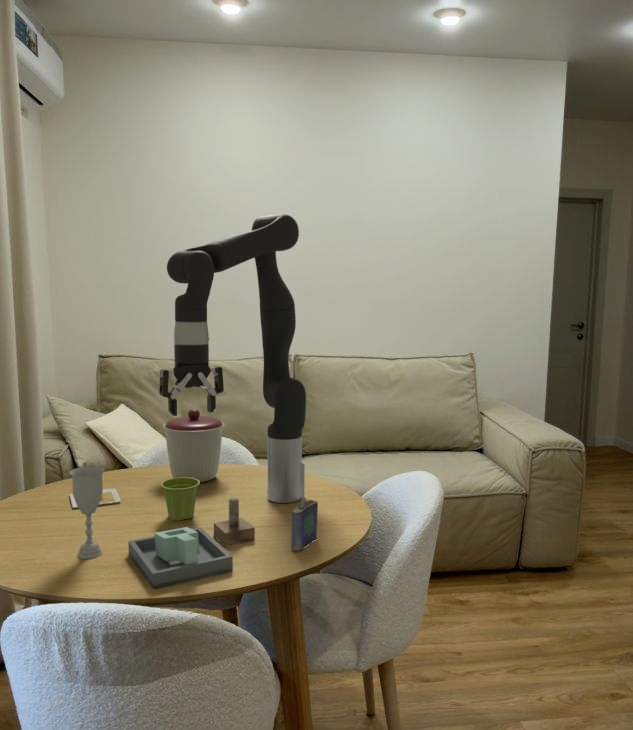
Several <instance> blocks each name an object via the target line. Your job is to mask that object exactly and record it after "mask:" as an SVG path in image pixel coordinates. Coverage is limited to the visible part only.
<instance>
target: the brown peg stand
mask: <svg viewBox="0 0 633 730" xmlns="http://www.w3.org/2000/svg"><path fill="white" fill-rule="evenodd" d="M255 530H256V528H255V526H254V525H252V524H251V523H250V522H248V521H247V520H246V519H244V518H243V517H240V499H239V498H237V497H230V498H229V499H228V520H223V521H217V522H213V537H215V539H217V540H218V541H219V542H220V543H221V544H223V545H224V546H225V547H229V546H233V545H238V544H244V543H248V542H252V541H255V540H256V537H255V534H256V532H255Z"/></svg>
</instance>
